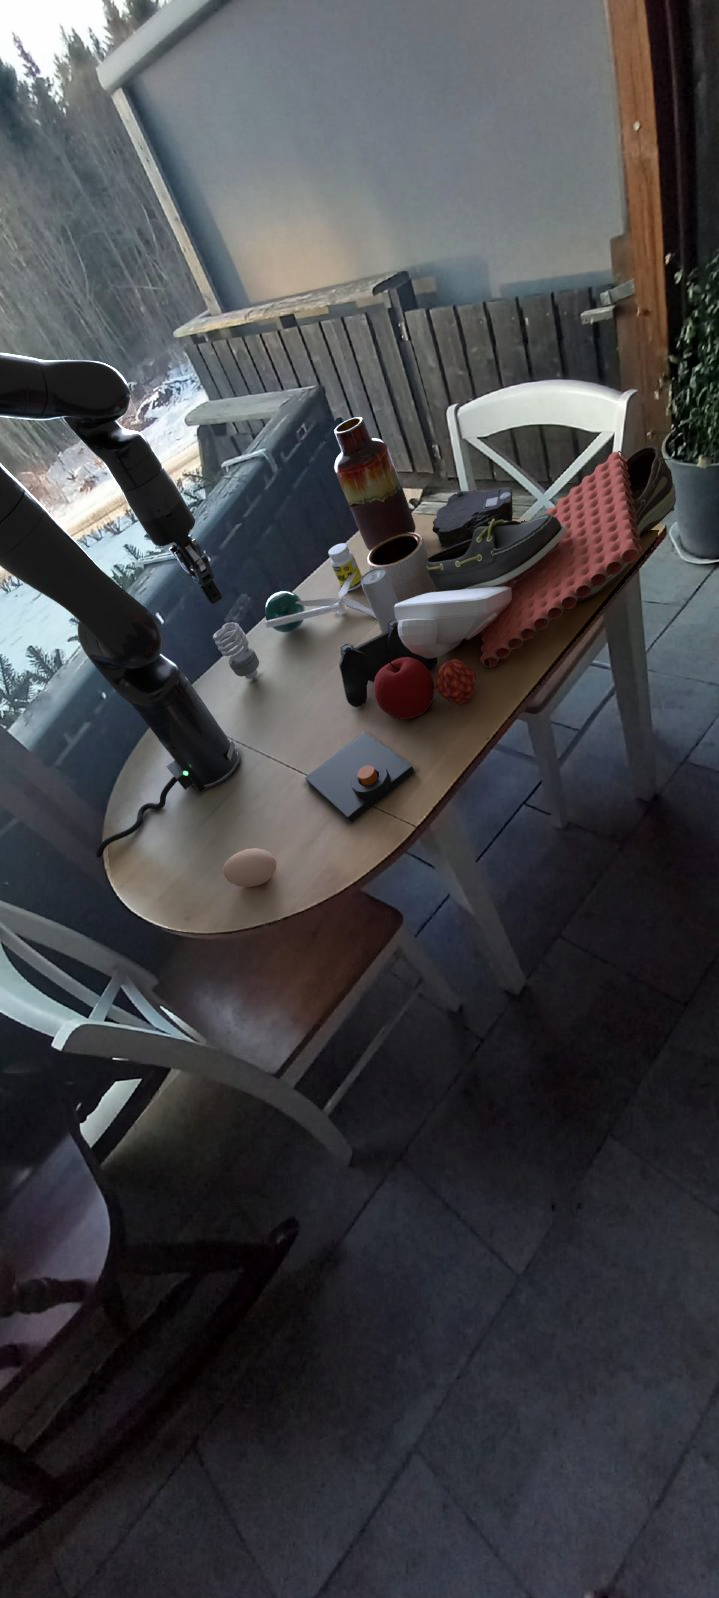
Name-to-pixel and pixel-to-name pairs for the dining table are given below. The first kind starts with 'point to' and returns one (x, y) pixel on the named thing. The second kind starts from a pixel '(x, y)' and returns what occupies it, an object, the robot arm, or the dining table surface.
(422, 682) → the apple
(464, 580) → the boat shoe
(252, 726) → the dining table surface
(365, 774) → the button
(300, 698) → the dining table surface
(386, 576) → the beverage can
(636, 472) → the boat shoe
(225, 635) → the light bulb
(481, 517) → the rock sample
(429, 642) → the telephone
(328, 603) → the wind turbine
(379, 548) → the planter
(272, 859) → the egg
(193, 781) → the robot arm
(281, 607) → the sphere
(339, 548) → the supplement bottle
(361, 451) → the vase
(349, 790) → the push button pad
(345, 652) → the game controller
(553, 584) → the egg carton
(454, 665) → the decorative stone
